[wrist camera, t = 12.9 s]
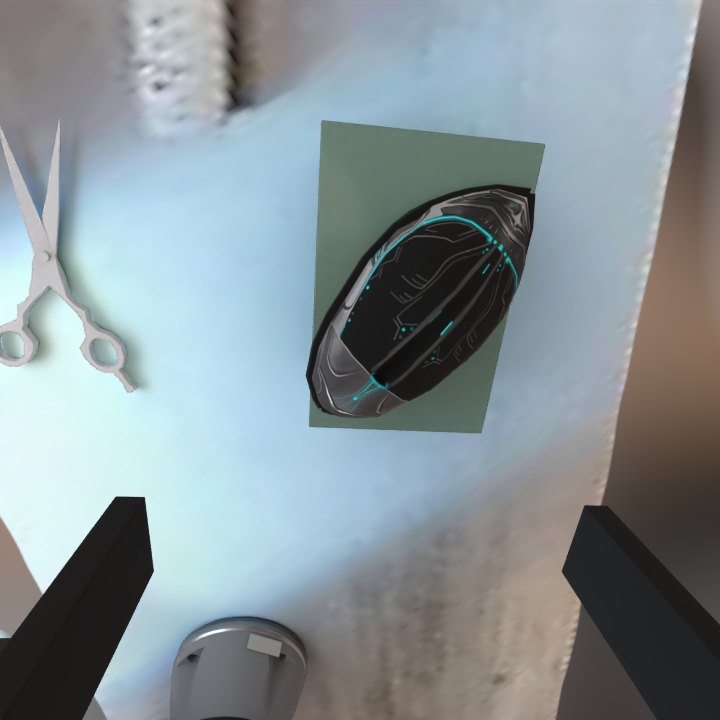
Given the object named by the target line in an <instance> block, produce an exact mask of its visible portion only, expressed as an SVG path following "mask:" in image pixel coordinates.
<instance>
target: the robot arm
mask: <svg viewBox="0 0 720 720" xmlns="http://www.w3.org/2000/svg"><path fill="white" fill-rule="evenodd" d="M153 572H154V568H153V560H152V552H151V544H150V536H149V528H148V519H147V511H146V503H145V497H115V498H114V500H113V501H112V502H111V504H110V505H109V506H108V508H107V509H106V511H105V512H104V513H103V515H102V516H101V517H100V519H99V520H98V521H97V523H96V524H95V525H94V527H93V528H92V529H91V531H90V532H89V533H88V535H87V536H86V537H85V539H84V540H83V542H82V543H81V544H80V546H79V547H78V548H77V550H76V551H75V552H74V554H73V555H72V556H71V558H70V559H69V560H68V562H67V563H66V564H65V566H64V567H63V569H62V570H61V571H60V573H59V574H58V575H57V577H56V578H55V579H54V581H53V582H52V583H51V585H50V586H49V587H48V589H47V590H46V591H45V593H44V594H43V596H42V597H41V598H40V600H39V601H38V602H37V604H36V605H35V607H34V608H33V609H32V610H31V612H30V613H29V614H28V616H27V617H26V619H25V620H24V621H23V623H22V624H21V625H20V627H19V628H18V629H17V631H16V632H15V633H14V635H13V636H12V637H11V638H0V720H82V719H83V717H84V715H85V713H86V711H87V709H88V706H89V705H90V703H91V700H92V698H93V696H94V694H95V692H96V690H97V688H98V686H99V684H100V682H101V680H102V678H103V676H104V673H105V671H106V669H107V667H108V665H109V663H110V661H111V659H112V657H113V655H114V653H115V651H116V649H117V647H118V644H119V642H120V640H121V638H122V636H123V634H124V632H125V630H126V628H127V626H128V624H129V622H130V620H131V618H132V615H133V613H134V611H135V609H136V607H137V605H138V603H139V601H140V599H141V597H142V595H143V593H144V591H145V589H146V586H147V584H148V582H149V580H150V578H151V576H152V574H153ZM562 573H563V575H564V576H565V578H566V579H567V581H568V582H569V584H570V585H571V587H572V589H573V590H574V592H575V593H576V595H577V596H578V598H579V599H580V601H581V603H582V604H583V606H584V607H585V609H586V610H587V612H588V613H589V615H590V616H591V618H592V619H593V621H594V622H595V624H596V626H597V627H598V629H599V630H600V632H601V633H602V635H603V637H604V638H605V640H606V641H607V643H608V644H609V646H610V647H611V649H612V650H613V652H614V654H615V655H616V657H617V658H618V660H619V661H620V663H621V664H622V666H623V668H624V669H625V671H626V672H627V674H628V675H629V677H630V678H631V680H632V682H633V683H634V685H635V686H636V687H637V689H638V691H639V692H640V694H641V695H642V697H643V698H644V700H645V702H646V703H647V705H648V706H649V708H650V709H651V711H652V712H653V714H654V716H655V717H656V719H657V720H720V625H719V624H718V623H717V621H716V620H715V619H714V618H713V617H712V616H711V615H710V614H709V613H708V612H707V611H706V610H705V609H704V608H703V607H702V606H701V605H700V603H699V602H698V601H697V600H696V599H695V598H694V597H693V596H692V595H691V594H690V593H689V592H688V591H687V590H686V589H685V588H684V587H683V586H682V584H680V582H679V581H678V580H677V579H676V578H675V577H674V576H673V575H672V574H671V573H670V572H669V571H668V570H667V569H666V567H665V566H664V565H663V564H662V563H661V562H660V561H659V560H658V559H657V558H656V557H655V556H654V555H653V554H652V553H651V552H650V550H649V549H647V547H646V546H645V545H644V544H643V543H642V542H641V541H640V540H639V539H638V538H637V537H636V536H635V535H634V534H633V532H632V531H631V530H630V529H629V528H628V527H627V526H626V525H625V524H624V523H623V522H622V521H621V520H620V519H619V518H618V517H617V516H616V515H615V513H614V512H613V511H612V510H611V509H610V508H609V507H608V506H589V505H585V506H584V508H583V511H582V514H581V517H580V520H579V523H578V526H577V529H576V532H575V535H574V537H573V540H572V543H571V546H570V549H569V552H568V555H567V558H566V561H565V563H564V566H563V569H562ZM306 665H307V656H306V651H305V649H304V647H303V645H302V643H301V642H300V640H299V639H298V638H297V637H296V636H295V635H294V634H293V633H291V632H290V631H289V630H287V629H285V628H284V627H282V626H280V625H277V624H275V623H272V622H269V621H265V620H261V619H255V618H228V619H223V620H218V621H215V622H212V623H209V624H206V625H204V626H202V627H200V628H198V629H197V630H195V631H194V632H192V633H191V634H190V635H189V636H188V637H187V638H186V639H185V640H184V641H183V643H182V644H181V646H180V648H179V651H178V653H177V656H176V659H175V662H174V666H173V672H172V679H171V703H170V720H292V718H293V715H294V712H295V710H296V707H297V704H298V701H299V698H300V695H301V692H302V689H303V686H304V682H305V678H306Z"/></svg>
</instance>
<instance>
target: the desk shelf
mask: <svg viewBox="0 0 720 720" xmlns="http://www.w3.org/2000/svg"><path fill="white" fill-rule="evenodd" d="M544 148H545V144H540V143H531V142H521V141H512V140H502V139H493V138H484V137H474V136H465V135H455V134H446V133H437V132H427V131H418V130H408V129H399V128H390V127H380V126H371V125H361V124H352V123H343V122H333V121H324V120H323V121H322V122H321V143H320V168H319V192H318V216H317V241H316V265H315V289H314V314H313V338H312V342H313V340H314V338H315V335H316V333H317V331H318V329H319V327H320V325H321V323H322V320H323V318H324V316H325V314H326V312H327V311H328V309H329V308H330V306H331V305H332V303H333V301H334V300H335V298H336V297H337V295H338V294H339V292H340V290H341V289H342V287H343V286H344V284H345V282H346V281H347V279H348V278H349V276H350V275H351V273H352V271H353V270H354V268H355V267H356V265H357V264H358V262H359V260H360V259H361V257H362V256H363V255H364V254H365V253H366V251H367V250H368V249H369V248H370V247H371V246H372V245H373V244H374V243H375V242H376V241H377V240H378V239H379V238H380V236H381V235H382V234H383V233H384V232H385V231H386V230H387V229H388V228H389V227H390V226H391V225H392V224H393V223H394V222H395V221H397V220H398V219H399V218H401V217H402V216H403V215H405V214H406V213H407V212H409V211H410V210H412V209H414V208H416V207H418V206H420V205H422V204H423V203H425V202H427V201H429V200H432V199H435V198H437V197H440V196H443V195H445V194H448V193H451V192H455V191H458V190H462V189H466V188H470V187H478V186H486V185H494V184H502V185H510V186H518V187H526V188H531V191H530V193H533V194H535V189H536V185H537V180H538V176H539V171H540V166H541V162H542V157H543V153H544ZM508 311H509V308H508V310H507V312H506V314H505V316H504V318H503V320H502V321H501V322H500V323H499V325H498V326H497V327H496V328H495V330H494V331H493V332H492V333H491V334H490V336H489V337H488V338H487V339H486V341H485V342H484V343H483V344H482V346H481V347H480V348H479V349H478V350H477V351H476V352H475V353H474V354H473V355H472V356H471V357H470V358H469V359H468V360H467V361H466V362H465V363H463V364H462V365H460V366H459V367H458V368H457V369H456V370H455V371H453V372H452V373H451V374H450V375H449V376H447V377H446V378H445V379H444V380H443V381H441V382H440V383H439V384H438V385H437V386H435V387H434V388H433V389H432V390H430V391H428V392H426V393H424V394H423V395H421V396H419V397H417V398H415V399H413V400H411V401H409V402H407V403H405V404H403V405H401V406H399V407H397V408H395V409H393V410H391V411H389V412H387V413H385V414H383V415H381V416H379V417H370V418H347V417H338V416H336V415H330V414H327V413H324V412H322V411H321V408H320V409H318V408H317V406H316V405H315V403H314V401H313V399H312V396H311V392H310V411H309V427H326V428H353V429H379V430H406V431H432V432H459V433H482V428H483V424H484V419H485V415H486V410H487V406H488V401H489V397H490V392H491V388H492V383H493V379H494V374H495V370H496V365H497V361H498V356H499V352H500V347H501V342H502V338H503V333H504V329H505V324H506V320H507V315H508Z"/></svg>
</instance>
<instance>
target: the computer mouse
mask: <svg viewBox="0 0 720 720" xmlns="http://www.w3.org/2000/svg"><path fill="white" fill-rule="evenodd" d="M530 191H531V188H526V187H518V186H510V185H502V184H494V185H486V186H478V187H470V188H466V189H462V190H458V191H455V192H451V193H448V194H445V195H443V196H440V197H437V198H435V199H432V200H429V201H427V202H425V203H423V204H422V205H420V206H418V207H416V208H414V209H412V210H410V211H409V212H407V213H406V214H405V215H403V216H402V217H401V218H399V219H398V220H397V221H395V222H394V223H393V224H392V225H391V226H390V227H389V228H388V229H387V230H386V231H385V232H384V233H383V234H382V235H381V236H380V238H379V239H378V240H377V241H376V242H375V243H374V244H373V245H372V246H371V247H370V248H369V249H368V250H367V251H366V253H365V254H364V255H363V256H362V257H361V259H360V260H359V262H358V264H357V265H356V267H355V268H354V270H353V271H352V273H351V275H350V276H349V278H348V279H347V281H346V282H345V284H344V286H343V287H342V289H341V290H340V292H339V294H338V295H337V297H336V298H335V300H334V301H333V303H332V305H331V306H330V308H329V309H328V311H327V312H326V314H325V316H324V318H323V320H322V323H321V325H320V327H319V329H318V331H317V333H316V335H315V338H314V340H313V342H312V347H311V352H310V357H309V362H308V367H307V372H306V378H307V382H308V385H309V389H310V392H311V396H312V399H313V401H314V403H315V405H316V406H317V408H318V409H320V408H321V411H322V412H324V413H327V414H330V415H336V416H338V417H347V418H370V417H379V416H381V415H383V414H385V413H387V412H389V411H391V410H393V409H395V408H397V407H399V406H401V405H403V404H405V403H407V402H409V401H411V400H413V399H415V398H417V397H419V396H421V395H423V394H424V393H426V392H428V391H430V390H432V389H433V388H434V387H435V386H437V385H438V384H439V383H440V382H441V381H443V380H444V379H445V378H446V377H447V376H449V375H450V374H451V373H452V372H453V371H455V370H456V369H457V368H458V367H459V366H460V365H462V364H463V363H465V362H466V361H467V360H468V359H469V358H470V357H471V356H472V355H473V354H474V353H475V352H476V351H477V350H478V349H479V348H480V347H481V346H482V344H483V343H484V342H485V341H486V339H487V338H488V337H489V336H490V334H491V333H492V332H493V331H494V330H495V328H496V327H497V326H498V325H499V323H500V322H501V321H502V320H503V318H504V316H505V314H506V312H507V310H508V308H509V306H510V304H511V302H512V299H513V297H514V295H515V292H516V290H517V288H518V285H519V283H520V280H521V277H522V273H523V269H524V266H525V258H526V254H527V250H528V246H529V242H530V238H531V234H532V231H533V222H534V207H535V194H533V193H530Z"/></svg>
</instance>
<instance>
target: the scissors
mask: <svg viewBox="0 0 720 720" xmlns="http://www.w3.org/2000/svg"><path fill="white" fill-rule="evenodd" d="M0 138H1V141H2V145H3V149H4V152H5V156H6V159H7V163H8V167H9V170H10V174H11V178H12V181H13V185H14V188H15V192H16V195H17V199H18V202H19V206H20V209H21V212H22V216H23V219H24V222H25V225H26V228H27V232H28V235H29V238H30V241H31V244H32V248H33V251H34V258H33V264H32V278H31V284H30V289H29V296H28V297H27V299H26V300H25V301H24V302H22V303H20V304H18V305H17V308H18V319H16V320H14V321H12V322H10V323H7V324H4V325H2V326H0V362H1V363H2V364H4V365H6V366H9V367H19V366H21V365H23V364H25V363H27V362H29V361H31V360H32V359H33V358H34V356H35V354H36V352H37V349H38V344H39V341H38V340H37V338H36V337H35V336H34V335H33V333H32V332H31V331H30V329H29V328H28V327H27V325H28V324H29V314H28V313H29V311H30V310H31V308H32V307H33V305H34V304H35V303H36V301H37V300H38V299H39V298H40V297H41V296H42V295H43V294H44V293H46V292H47V291H48V290H49V288H50V287H51V288H52V289H53V290H54V291H55V292H56V293H57V294H58V295H59V296H60V297H61V298H62V299H63V300H64V301H65V302H66V303H67V304H68V305H69V306H70V307H71V308H72V309H73V310H74V311H75V312H76V313H77V314H78V316H79V317H80V319H81V321H82V322H83V326H84V331H85V335H86V337H85V339H84V341H83V343H82V345H81V346H80V350H81V352H82V354H83V356H84V358H85V359H86V360H87V361H88V362H89V363H90V364H91V365H92V366H93V367H94V368H96V369H97V370H99V371H102V372H106V373H113V374H114V375H115V376H116V377H117V378H118V379H119V380H120V381H121V382H122V384H123V386H124V388H125V390H126V391H127V392H133V391H134V390H135V389H136V388H137V384H136V383H135V382H133V381H132V380H131V379H130V377H129V376H128V374H127V373H126V371H125V370H124V369H123V368H122V367H123V366H124V365H126V360H127V351H126V347H125V344H124V343H123V342H122V341H121V340H120V339H119V338H118V337H117V336H116V335H115V334H113V333H111V332H110V331H107V330H104V329H102V328H100V327H99V326H98V325H97V324H96V323H95V322H94V321H93V320H92V319H91V315H90V311H89V309H88V308H87V307H85V306H83V305H82V304H80V303H79V302H78V301H77V300H76V299H75V298H74V297H73V296H72V294H71V291H70V288H69V285H68V282H67V279H66V276H65V273H64V271H63V269H62V267H61V265H60V263H59V261H58V259H57V245H58V230H59V215H60V162H61V137H60V118H59V124H58V129H57V135H56V141H55V146H54V152H53V157H52V163H51V169H50V174H49V181H48V188H47V195H46V200H45V205H44V210H43V215H42V222H41V220H40V217H39V215H38V213H37V210H36V208H35V206H34V203H33V201H32V198H31V196H30V194H29V191H28V189H27V187H26V184H25V182H24V180H23V178H22V175H21V173H20V171H19V168H18V166H17V164H16V162H15V159H14V157H13V155H12V153H11V150H10V148H9V146H8V144H7V141H6V139H5V137H4V134H3V132H2V130H1V128H0ZM6 331H13V332H15V333H17V334H18V335H19V336H20V337H21V339H22V340H23V342H24V354H23V356H22V357H21V359H19V358H13V357H10V356H9V355H7V354H6V353H5V351H4V350H3V349H2V345H1V336H2V335H3V334H4V333H5V332H6ZM96 338H99V339H106V340H107V341H108V342H109V343H111V344H112V346H113V347H114V348H115V350H116V354H117V363H116V364H114V365H110V364H105V363H103V362H101V361H100V360H99V358H98V357H97V356H96V354H95V351H94V340H95V339H96Z"/></svg>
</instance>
